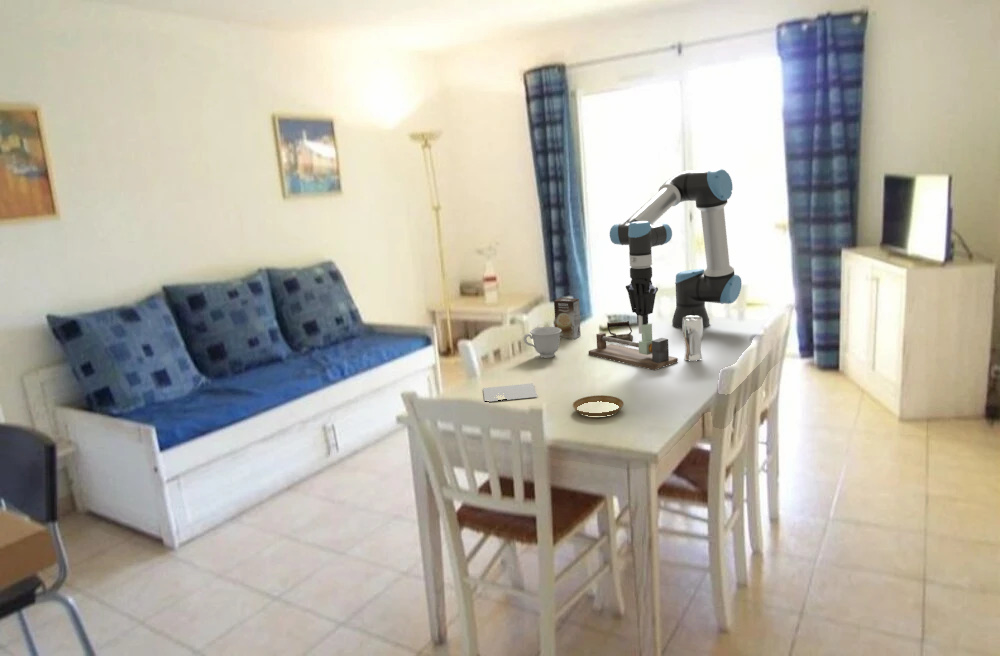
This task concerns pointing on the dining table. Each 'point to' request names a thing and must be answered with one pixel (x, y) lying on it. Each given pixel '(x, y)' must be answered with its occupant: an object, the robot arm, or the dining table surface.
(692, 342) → the beer glass
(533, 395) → the paper stack
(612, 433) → the dining table surface
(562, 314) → the coffee box
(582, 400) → the plant saucer
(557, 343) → the teacup
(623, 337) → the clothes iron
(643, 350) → the sleeve
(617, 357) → the rack
